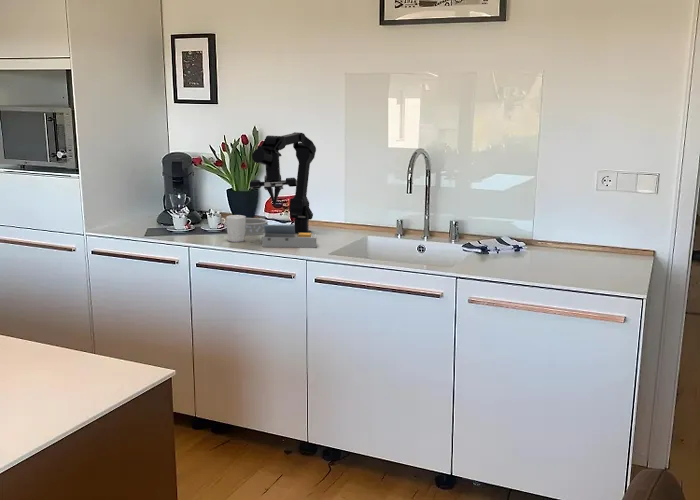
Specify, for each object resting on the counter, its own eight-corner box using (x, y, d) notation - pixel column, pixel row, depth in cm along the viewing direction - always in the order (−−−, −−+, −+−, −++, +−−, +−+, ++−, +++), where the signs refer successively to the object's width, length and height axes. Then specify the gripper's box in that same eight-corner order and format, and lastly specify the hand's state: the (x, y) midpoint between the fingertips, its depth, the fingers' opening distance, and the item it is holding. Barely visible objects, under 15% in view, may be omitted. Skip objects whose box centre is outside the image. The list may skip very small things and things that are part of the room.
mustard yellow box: (299, 240, 302) (299, 232, 301) (311, 241, 302) (311, 232, 301) (298, 242, 298) (298, 234, 298) (310, 242, 298) (310, 234, 297)
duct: (263, 243, 295) (263, 233, 294) (316, 243, 296) (316, 234, 295) (262, 247, 287) (262, 237, 286) (316, 247, 288) (316, 237, 287)
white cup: (247, 239, 303) (247, 215, 301) (243, 242, 295) (243, 218, 293) (229, 238, 303) (229, 214, 301) (224, 241, 296) (224, 217, 294)
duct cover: (265, 233, 294) (265, 232, 294) (295, 234, 294) (295, 232, 294) (264, 225, 285) (264, 224, 285) (294, 226, 285) (294, 224, 286)
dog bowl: (258, 227, 331) (258, 216, 330) (275, 234, 315) (275, 222, 314) (223, 230, 322) (223, 218, 321) (238, 237, 307) (238, 225, 306)
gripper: (297, 168, 301) (299, 205, 300) (253, 171, 301) (255, 208, 300) (294, 163, 290) (296, 201, 289) (248, 166, 290) (250, 205, 289)
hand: (274, 204), depth 292 cm, fingers closed
